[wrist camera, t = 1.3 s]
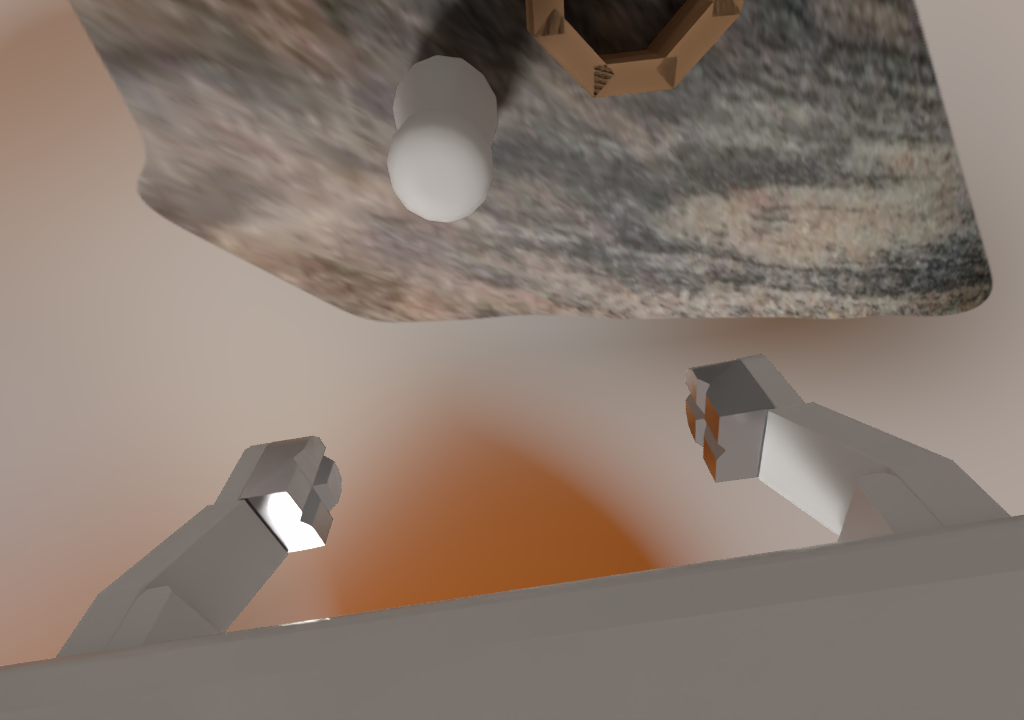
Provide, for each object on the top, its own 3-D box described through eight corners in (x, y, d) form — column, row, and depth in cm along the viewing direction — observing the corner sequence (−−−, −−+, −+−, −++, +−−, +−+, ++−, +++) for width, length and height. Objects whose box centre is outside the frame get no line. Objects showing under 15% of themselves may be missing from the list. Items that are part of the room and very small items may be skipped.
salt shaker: (501, 58, 28) (526, 107, 18) (490, 161, 31) (506, 251, 21) (396, 42, 27) (360, 84, 17) (397, 150, 30) (367, 239, 20)
